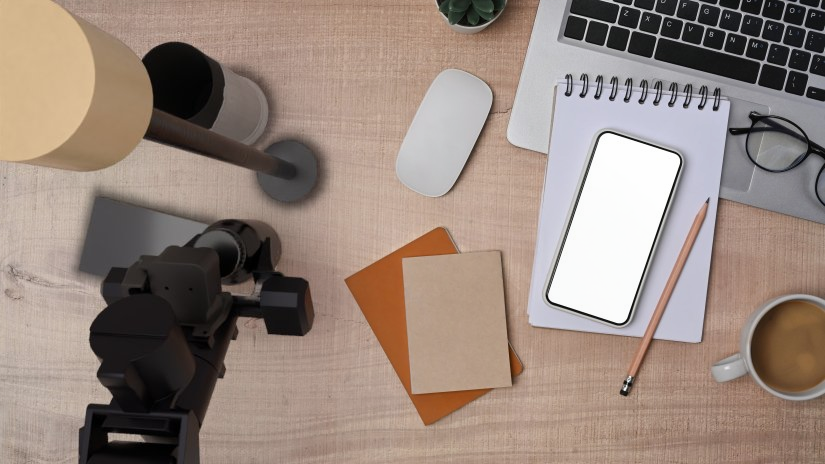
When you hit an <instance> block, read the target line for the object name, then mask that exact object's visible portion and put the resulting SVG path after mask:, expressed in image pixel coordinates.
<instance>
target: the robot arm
mask: <svg viewBox="0 0 825 464" xmlns="http://www.w3.org/2000/svg"><path fill="white" fill-rule="evenodd" d="M200 235H201V234H200V233H198V234H197V235H195V236H194V237H193V238H192V239H191V240H190V241H188V242H187V243H186V244H185V245H184V246H183V247H179V246H177V245H171V246H168V247H167V248H166V249H165V250H164V251H163V252H162V253H161V254H160V255H159V256H153V255H141V256H140V258H139V261H136V262H135V263H134V264H133V265H132V266H131V267H130V268H123V267H111V268H110V269H109V270H108V272H107V274H106V275H105V277H103V279H102V281H101V283H100V291H99V294H100V295H101V297H102V299H103V300H104V303H105V304H106V305H107V306H105V307H104V308H103V309H102V310H101V311H100V312H99V313H98V314H97V315H96V317H95V318H94V319H93V320H92V322H91V324H90V326H89V329H88V330H89V336H88V342H89V343H88V344H89V346H90V347H89V348H90V349H91V350H92V352H93V354H94V356H95V357H96V359H97V360H98V361H99V363H100V365H99V367H98V369H97V371H96V379H97V380H98V381H99V383H100V384H101V385H102V386H103V387H104V388H106V390H108V391H109V393H110V394H111V396H112V397H111V399H110V402H109V403H96V402H95V403H93V402H90V403H88V404H87V406H86V409H85V415H84V424H83V425H82V426H81V427H79V428H78V444H77V445H78V448H77V449H78V451H77V464H201V456H200V455H201V454H200V453H201V451H200V448H201V447H200V432H201V429H202V427H203V424H204V421H205V417H206V416H207V415H206V414H207V412H208V409H209V405H210V403H211V400H212V397H213V394H214V391H215V389H216V385H217V382H218V379H221V380H223V379H224V378H225V374H226V372H227V367H226V364H225V362H224V361H225V358H226V355H227V353H228V350H229V347H230V345H231V341H237V338H238V335H239V333H240V331H239V328H238V325H237V323H238V320H239V318H247V319H248V318H249V319H250V318H251V319H263V323H264V326H265V329H266V333H267V335H270V336H272V335H273V336H288V337H305V336H306V335H307V334H308V333H310V331H311V330H312V329H313V325H314V321H315V318H316V314H315V309H314V304H313V303H314V302H313V298H312V292H311V287H310V282H309V281H308V280H307V279H305V278H304V277H302V276H287V275H285V274H284V273H283V272H282V271H278V270H276V268H275V267H274V259H273V250H272V243H271V238H270V237H266V239H265V241H264V243H263V245H262V249H261V253H260V258H259V262H258V266H257V269H256V270H253V271H252V275H253V279H254V280H253V282H254V288H253V291H252V292H251V293H246V292H245V293H243V292H231V291H223V285H221V277H220V269H219V263H220V261H219V256H218V254H217V252H216V251H215V250H213V249H212V248H209V247H199V248H195V247H193V244H194V243H195V240H197V238H198V236H200ZM109 434H122V435H134V436H140V437H141V439H142V440H143V441H135V440H134V441H133V440H119V439H113V440H111V441H109Z"/></svg>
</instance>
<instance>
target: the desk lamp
mask: <svg viewBox="0 0 825 464" xmlns="http://www.w3.org/2000/svg"><path fill="white" fill-rule="evenodd" d="M141 60H142V59H141V58H140V56H139V55H138V54H137V53H136V52H135V51H134V50H133V48H131V47H130V46H129V45H128V44H127V43H125V42H124V41H123V40H121V39H120V38H118V37H116V36H115V35H113V34H111V33H109V31H106V30H104V29H102V28H101V27H99V26H97V25H96V24H94V23H92V22H90V21H88V20H87V19H85V18H83V17H82V16H80V15H78V14H76V13H75V12H73V11H71V10H69V9H67V8H66V7H64V6H62V5H61V4H59V3H57V2H55V1H54V0H0V161H1V162H7V163H8V162H9V163H14V164H20V165H21V164H22V165H28V166H35V167H41V168H50V169H55V170H63V171H70V172H76V173H91V172H97V171H101V170H105V169H107V168H110V167H112V166H114V165H117V164H118V163H120V162H121V161H123V160H124V159H125V158H126V157H128V156H130V154H132V152H133V151H134V150H135V149H136V148H137V147H138V146H139V144H140V143H141V142H142V140H145V141H148V142H153V143H156V144H159V145H161V146H166V147H170V148H172V149H177V150H180V151H184V152H187V153H191V154H193V155H194V154H195V155H198V156H201V157H204V158H207V159H212V160H215V161H218V162H222V163H225V164H229V165H232V166H237V167H238V168H239V167H240V168H243V169H246V170H250V171H254V172H256V177H257V182H258V184H259V186H260V187H261V189H262V190H263V192H265V194H266V195H267V196H269V197H270V198H272V199H274V200H276V201H279V202H281V203H283V202H284V203H297V202H301V201H303V200H305V199H307V198H308V197H309V196H311V195H312V194H313V193H314V192H315V190H316V189H317V187H318V185H319V182H320V179H321V166H320V162H319V159H318V158H317V156H316V154H315V153H314V151H313V150H312V149H310V148H309V147H308V146H306V145H304V144H303V143H302V142H299V141H295V140H290V139H286V140H285V139H284V140H279V141H277V142H274V143H272V144H271V145H269V146H268V147H266V148H265V149H264V151H263V150H260V149H257V148H255V147H253V146H251V145H249V146H248V145H245V144H243V143H240V142H238V141H235V140H233V139H230V138H228V137H225V136H223V135H221V134H218V133H216V132H213V131H211V130H208V129H206V128H203V127H201V126H198V125H196V124H193V123H191V122H189V121H186V120H184V119H181V118H179V117H176V116H174V115H171V114H169V113H166V112H164V111H161V110H159V109H157V108H154V107H153V93H152V86H151V82H150V78H149V75H148V73H147V70H146V68H145V66H144V65H143V63H142V61H141Z"/></svg>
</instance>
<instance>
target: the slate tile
mask: <svg viewBox="0 0 825 464" xmlns="http://www.w3.org/2000/svg"><path fill="white" fill-rule="evenodd" d="M209 225H211V224H210V223H206V222H202V221H198V220H194V219H190V218H186V217H182V216H178V215H175V214H174V215H173V214H170V213H166V212H162V211H158V210H154V209H150V208H147V207H142V206H138V205H135V204H130V203H126V202H122V201H118V200H115V199H111V198H107V197H103V196H99V195H95V197H94V201H93V205H92V210H91V214H90V218H89V222H88V226H87V231H86V235H85V240H84V244H83V247H82V248H83V249H82V253H81V257H80V261H79V265H78V269H77V271H79V272H82V273H85V274H89V275H93V276H98V277H101V278H104V277H105V275H106V274H107V272H108V270H109V269H110V268H111V267H123V268H130V267H131V266H132V265H133V264H134V263H135V262H136V261H139V258H140V256H141V255H153V256H159V255H160V254H161V253H162V252H163V251H164V250H165V249H166V248H167V247H168V246H171V245H177V246H179V247H183V246H184V245H185V244H186V243H187V242H188V241H190V240H191V239H192V238H193V237H194V236H195V235H197V234H198V233H200V234H201V233H202V232H203V231H204V230H205V229H206V228H207V227H208V226H209Z"/></svg>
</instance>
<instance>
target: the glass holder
mask: <svg viewBox="0 0 825 464" xmlns="http://www.w3.org/2000/svg"><path fill="white" fill-rule="evenodd" d="M140 60H141V61H142V63H143V65H144V66H145V68H146V70H147V73H148V75H149V78H150V82H151V86H152V93H153V107H154V108H157V109H159V110H161V111H164V112H166V113H169V114H171V115H174V116H176V117H179V118H181V119H184V120H186V121H189V122H191V123H193V124H196V125H198V126H201V127H203V128H206V129H208V130H211V131H213V132H216V133H218V134H221V135H223V136H225V137H228V138H230V139H233V140H235V141H238V142H240V143H243V144H245V145H248V146H251V145H252V144H254V143H255V142H256V141H258V140H259V138H260V137H261V136H262V135H263V133H264V132H265V130H266V127H267V126H268V125H267V124H268V121H269V115H270V114H269V103H268V100H267V97H266V95H265V93H264V91H263V90H262V89H261V88H260V86H259V85H258V84H257V83H256V82H254V81H253V80H251V79H250V78H248V77H245V76H243V75H239V74H236V73H235V72H234V71H232V70H231V69H230V68H229V67H227V66H226V65H224V64H223V63H221V62H220V61H219V60H217V59H215V58H214V57H212V56H210V55H208V54H206V53H204V52H203V51H202V50H201V49H199V48H198V47H196V46H194V45H192V44H190V43H187V42H185V41H184V42H182V41H166V42H163V43H160V44H157V45H156V46H154V47H152V48H151V49H150V50H149V51H148V52H146V53H145V54H144V56H143V57H142V58H141V59H140Z"/></svg>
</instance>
